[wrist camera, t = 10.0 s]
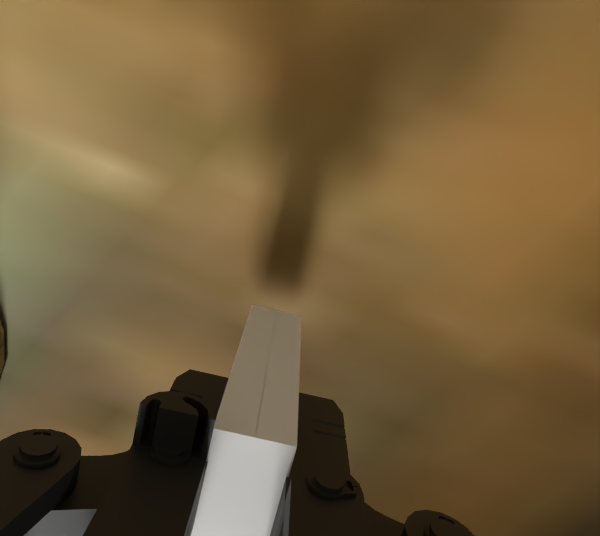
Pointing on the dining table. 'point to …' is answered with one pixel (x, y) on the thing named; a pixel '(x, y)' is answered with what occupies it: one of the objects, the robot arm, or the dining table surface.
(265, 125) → the dining table surface
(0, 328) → the wooden mug
